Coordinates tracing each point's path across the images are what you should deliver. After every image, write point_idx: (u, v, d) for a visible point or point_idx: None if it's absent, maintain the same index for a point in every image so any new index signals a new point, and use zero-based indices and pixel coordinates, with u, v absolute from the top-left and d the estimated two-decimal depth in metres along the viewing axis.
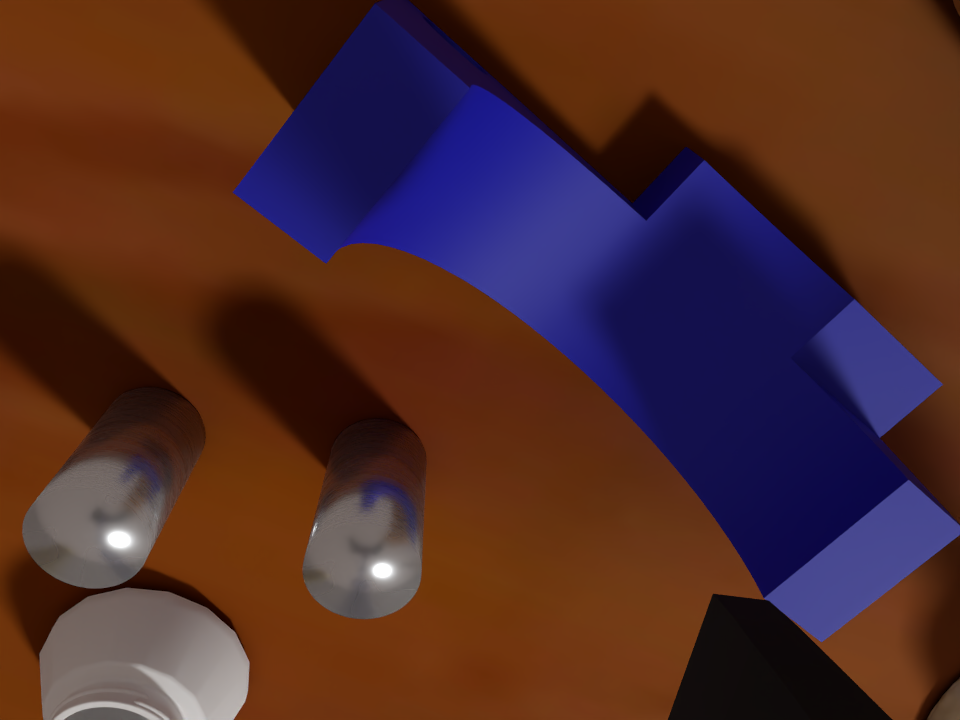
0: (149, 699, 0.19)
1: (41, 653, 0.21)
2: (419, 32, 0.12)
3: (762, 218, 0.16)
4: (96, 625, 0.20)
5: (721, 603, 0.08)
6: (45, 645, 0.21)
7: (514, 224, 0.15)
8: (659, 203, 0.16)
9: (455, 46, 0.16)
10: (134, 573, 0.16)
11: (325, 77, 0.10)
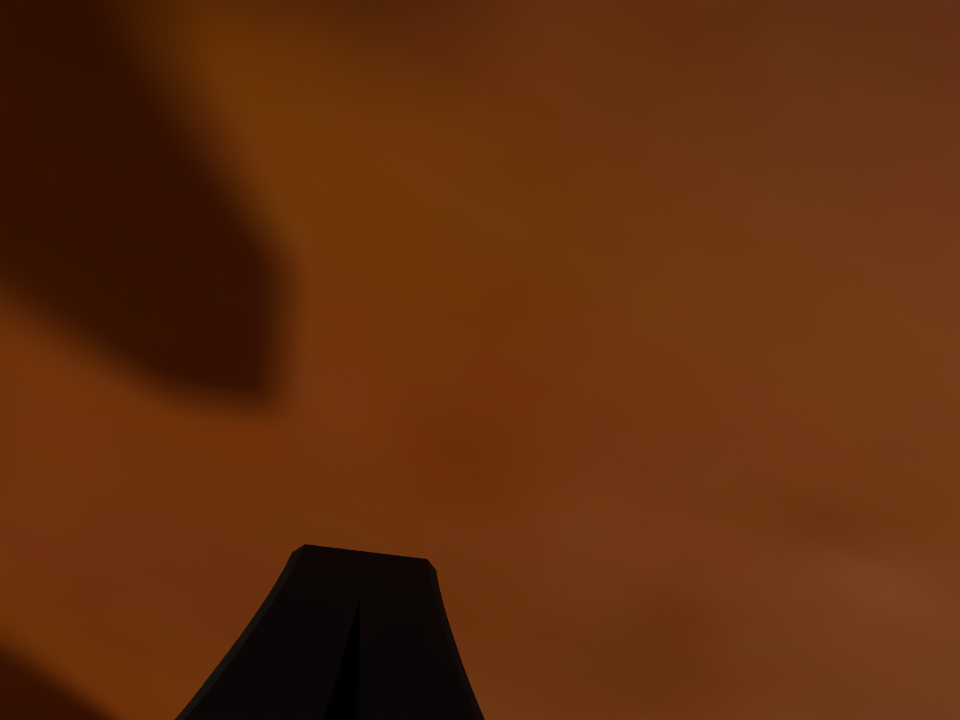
0: None
1: None
2: None
3: None
4: None
5: (364, 560, 0.08)
6: None
7: None
8: None
9: None
10: None
11: None
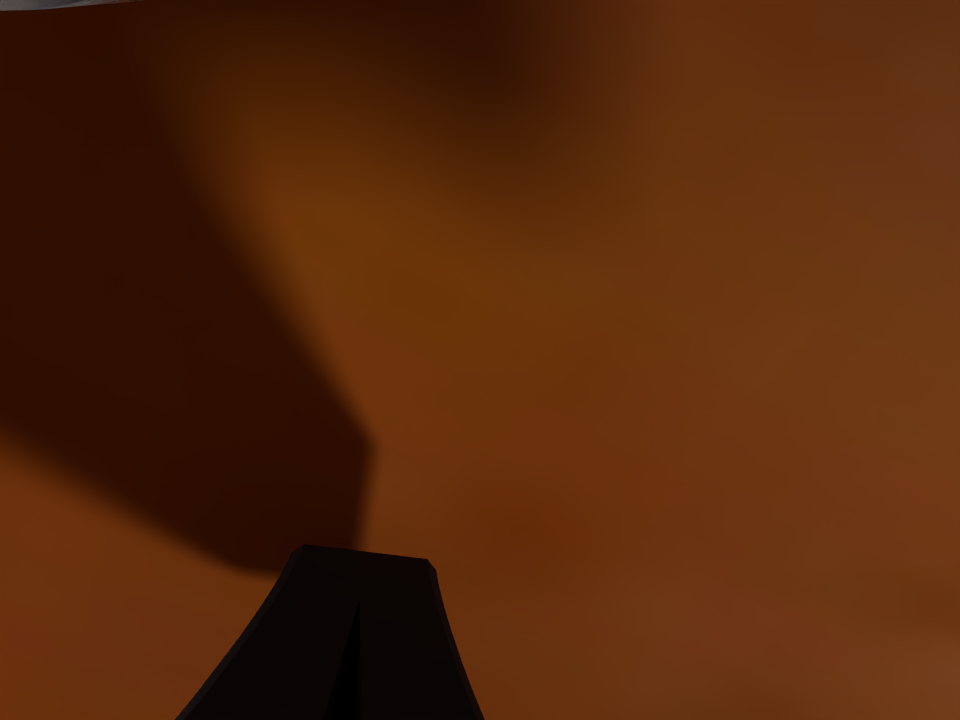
0: None
1: None
2: None
3: None
4: None
5: (364, 560, 0.08)
6: None
7: None
8: None
9: None
10: None
11: None
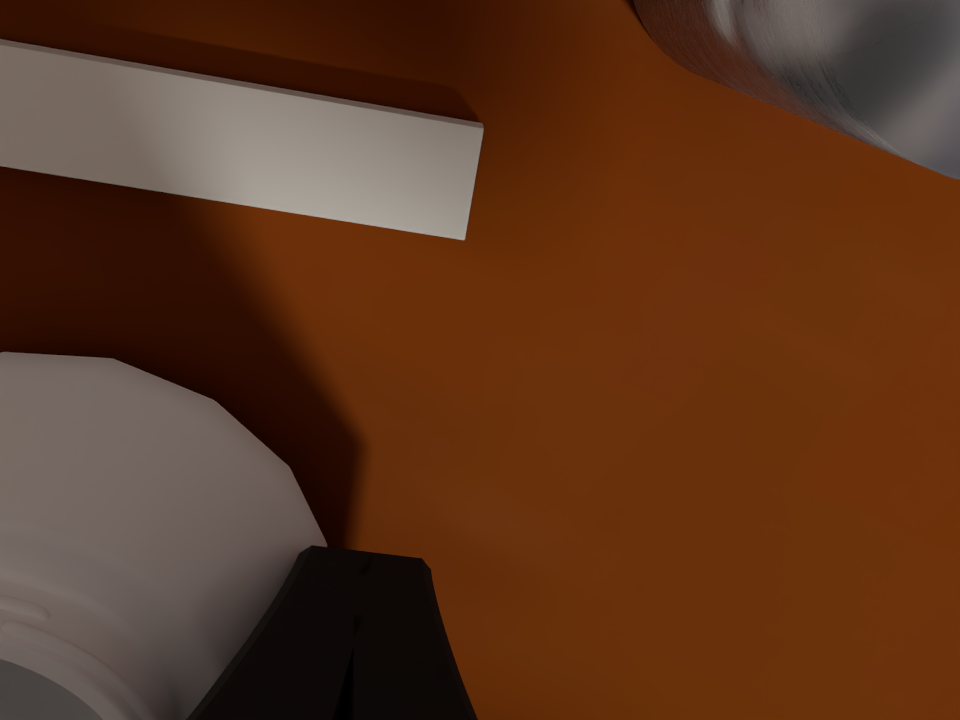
0: (52, 621, 0.06)
1: None
2: None
3: None
4: None
5: (358, 559, 0.08)
6: None
7: None
8: None
9: None
10: None
11: None
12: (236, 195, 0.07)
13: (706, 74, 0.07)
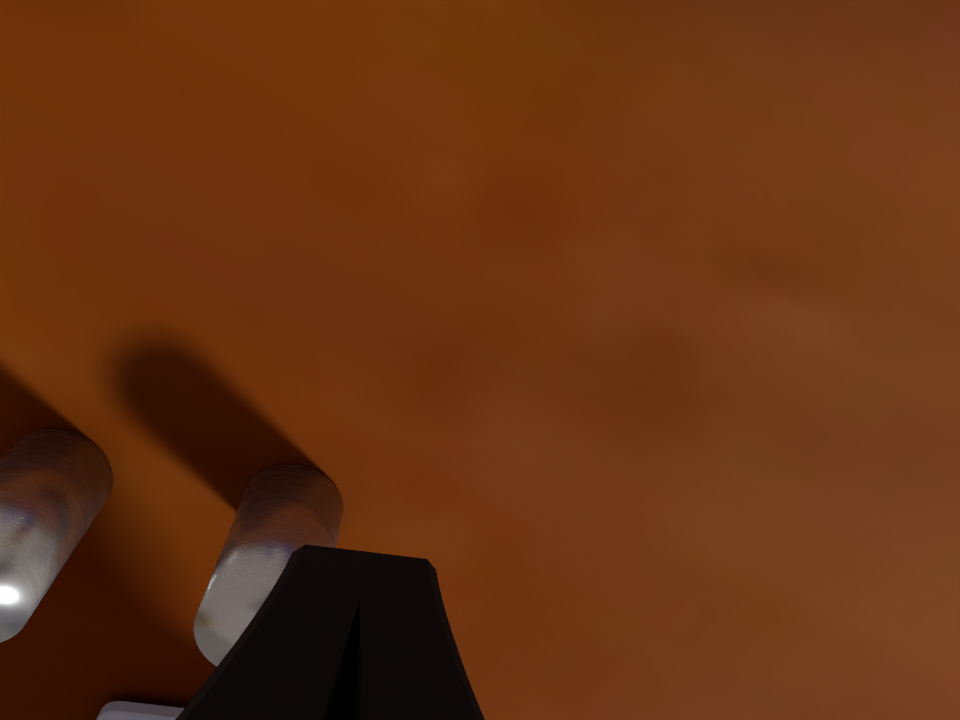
0: None
1: None
2: None
3: None
4: None
5: (364, 560, 0.08)
6: None
7: None
8: None
9: None
10: None
11: None
12: None
13: None
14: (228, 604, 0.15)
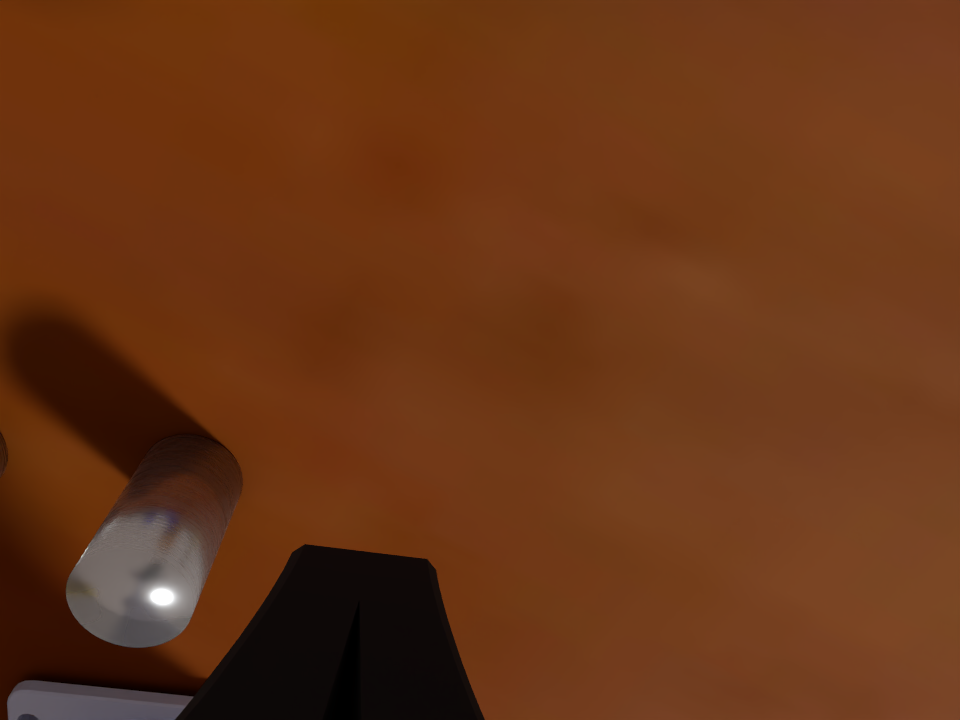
0: None
1: None
2: None
3: None
4: None
5: (364, 560, 0.08)
6: None
7: None
8: None
9: None
10: None
11: None
12: None
13: None
14: (99, 570, 0.15)
